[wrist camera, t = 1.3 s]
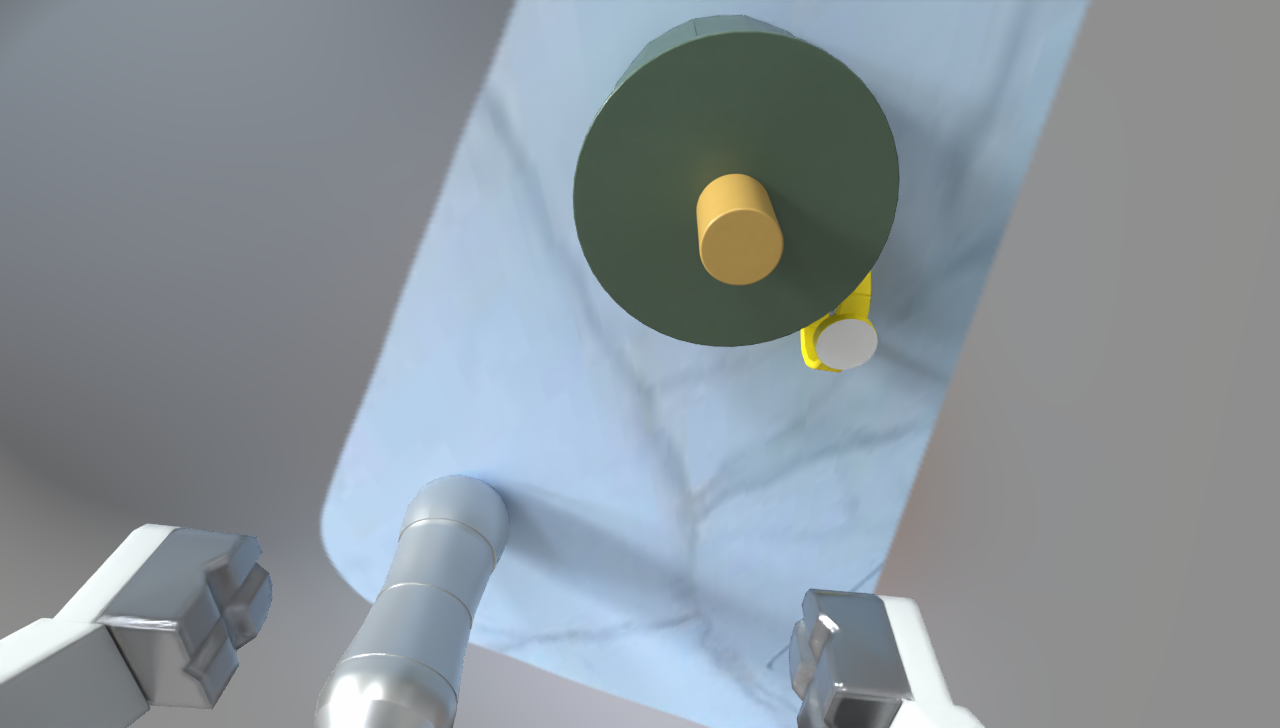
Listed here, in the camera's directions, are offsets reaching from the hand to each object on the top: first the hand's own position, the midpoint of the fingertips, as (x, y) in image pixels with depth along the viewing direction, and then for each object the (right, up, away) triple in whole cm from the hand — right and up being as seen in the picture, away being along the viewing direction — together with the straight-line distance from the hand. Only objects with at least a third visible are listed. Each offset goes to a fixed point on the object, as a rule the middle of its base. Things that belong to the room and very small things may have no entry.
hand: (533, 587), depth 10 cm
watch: (+11, +8, +25) cm, 28 cm away
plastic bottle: (-10, -5, +35) cm, 36 cm away
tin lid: (+5, +9, +14) cm, 18 cm away
